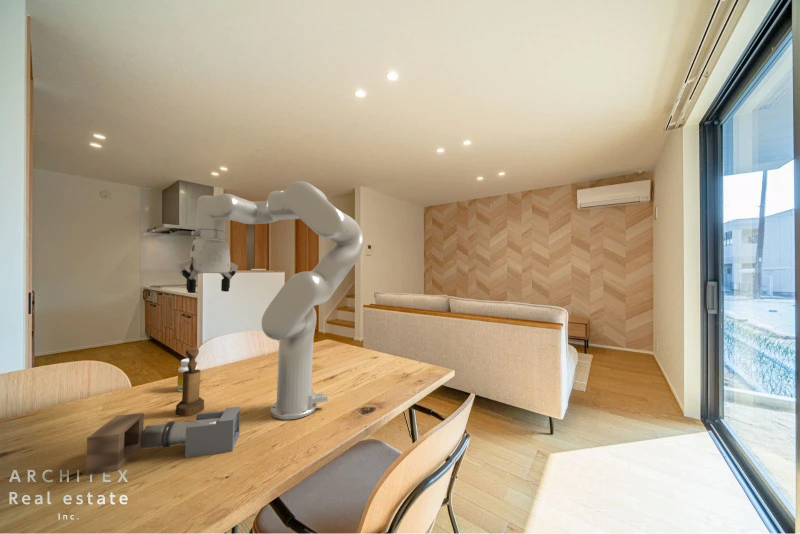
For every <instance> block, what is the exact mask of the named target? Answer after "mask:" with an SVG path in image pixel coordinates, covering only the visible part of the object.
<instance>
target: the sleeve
mask: <svg viewBox="0 0 800 534" xmlns="http://www.w3.org/2000/svg"><path fill="white" fill-rule="evenodd" d="M195 415H196V418H195V420H203V419H212V418H220V419H219V421H218V423H211V424H202V425H193V426H187V427H186V443H184V445H185V449H184V451H185V452H184V458H193V457H200V456H207V455H213V454H220V453H228V452H233V450H234V448H235V446H236V445H237V441H238V439H239V437H240V430H241V429H240V427H241V424H240V423H241V406H234V407H233V406H232V407H226V408H225V409H224V410H217V411H208V412H200V413H197V414H195ZM236 416H237V430H236V434H235V437H234V420H235V418H236Z"/></svg>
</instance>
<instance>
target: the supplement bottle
mask: <svg viewBox="0 0 800 534" xmlns="http://www.w3.org/2000/svg"><path fill="white" fill-rule="evenodd" d="M196 360H197V359H195V361H196ZM188 363H189V358H188V357H187V358H183V359H181V360H180V366H179V367H178V369H177V387H176V388H177V392H182V393H183V372H185V371H188V370H189V369H188V366H187V364H188ZM198 367H199V366H198V365H197V366H196V369H195V370H199V368H198Z"/></svg>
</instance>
